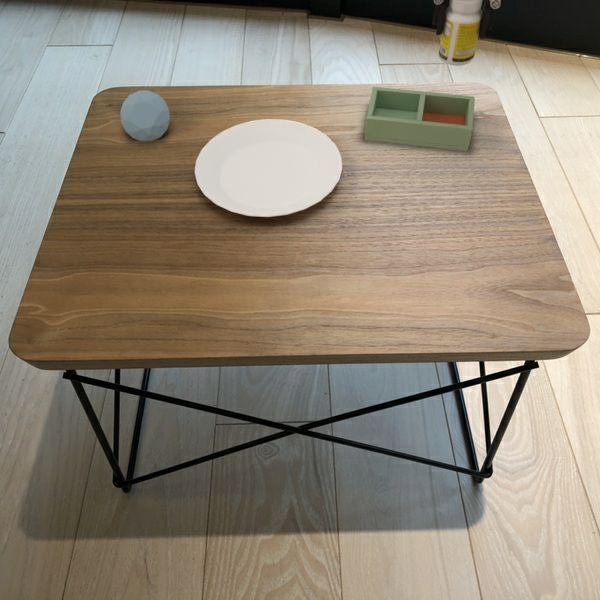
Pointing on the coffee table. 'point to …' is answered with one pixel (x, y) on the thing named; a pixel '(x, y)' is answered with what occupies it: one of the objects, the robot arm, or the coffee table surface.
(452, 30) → the supplement bottle
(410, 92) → the holder
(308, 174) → the plate
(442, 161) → the coffee table surface
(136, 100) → the gemstone
